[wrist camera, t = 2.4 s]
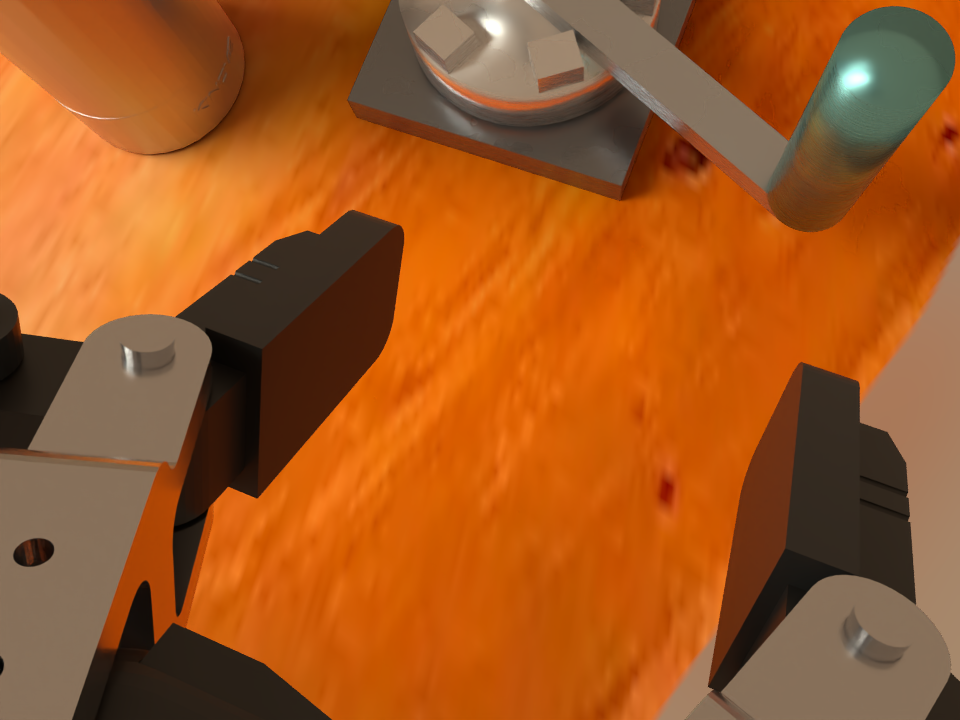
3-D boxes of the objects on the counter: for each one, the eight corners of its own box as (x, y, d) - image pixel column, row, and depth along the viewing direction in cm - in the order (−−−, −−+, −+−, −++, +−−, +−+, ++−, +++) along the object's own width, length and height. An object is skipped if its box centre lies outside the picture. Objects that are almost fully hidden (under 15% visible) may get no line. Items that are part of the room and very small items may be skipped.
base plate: (356, 117, 45) (347, 100, 43) (458, -115, 47) (453, -141, 45) (620, 200, 42) (621, 186, 40) (714, -49, 44) (720, -74, 42)
